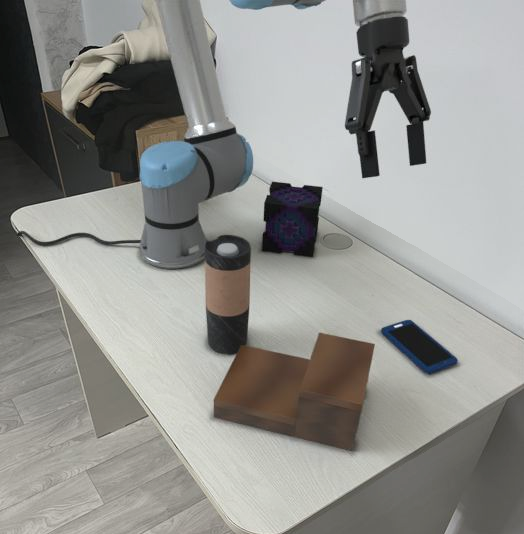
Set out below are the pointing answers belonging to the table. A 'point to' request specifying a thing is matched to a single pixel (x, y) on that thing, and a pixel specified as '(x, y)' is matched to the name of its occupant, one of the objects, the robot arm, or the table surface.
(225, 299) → the travel mug
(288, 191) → the energy cube
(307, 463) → the table surface
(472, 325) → the table surface
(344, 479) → the table surface
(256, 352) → the walnut shelf
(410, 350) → the cell phone
